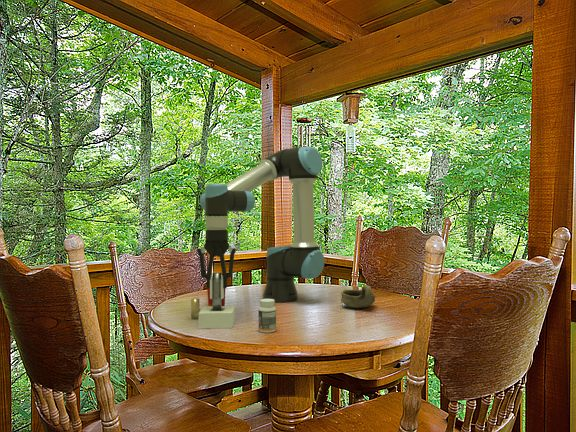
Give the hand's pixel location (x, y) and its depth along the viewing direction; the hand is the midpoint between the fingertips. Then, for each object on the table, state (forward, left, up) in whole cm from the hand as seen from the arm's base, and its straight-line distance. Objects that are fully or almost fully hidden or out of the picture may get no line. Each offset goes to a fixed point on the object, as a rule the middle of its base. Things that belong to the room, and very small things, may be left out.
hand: (217, 297), depth 155 cm
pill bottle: (-17, +9, -9) cm, 22 cm away
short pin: (+9, -9, -9) cm, 16 cm away
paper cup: (+2, -16, -9) cm, 18 cm away
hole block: (0, 0, -9) cm, 9 cm away
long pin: (0, 0, -6) cm, 6 cm away
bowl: (-53, -22, -9) cm, 58 cm away
